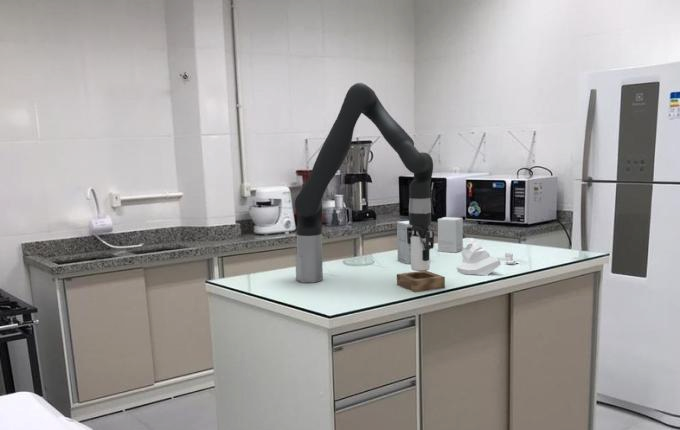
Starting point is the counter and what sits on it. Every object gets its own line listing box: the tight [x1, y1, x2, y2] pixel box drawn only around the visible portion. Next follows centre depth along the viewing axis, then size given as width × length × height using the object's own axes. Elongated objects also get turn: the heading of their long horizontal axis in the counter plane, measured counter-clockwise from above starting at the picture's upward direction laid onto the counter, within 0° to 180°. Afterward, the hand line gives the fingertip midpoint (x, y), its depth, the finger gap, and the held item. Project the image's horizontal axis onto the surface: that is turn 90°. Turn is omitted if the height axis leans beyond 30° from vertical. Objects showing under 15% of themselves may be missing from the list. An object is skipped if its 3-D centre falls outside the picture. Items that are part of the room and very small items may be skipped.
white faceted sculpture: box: [456, 237, 502, 276], centre depth 225 cm, size 12×15×14 cm
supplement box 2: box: [437, 216, 464, 254], centre depth 270 cm, size 9×9×15 cm
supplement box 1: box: [396, 220, 412, 265], centre depth 248 cm, size 10×9×17 cm
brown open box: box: [396, 270, 446, 293], centre depth 206 cm, size 12×12×4 cm
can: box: [410, 235, 431, 272], centre depth 205 cm, size 6×6×12 cm
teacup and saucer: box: [500, 252, 516, 265], centre depth 242 cm, size 9×8×4 cm
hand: (420, 258), depth 205 cm, fingers closed on can, 6 cm apart
